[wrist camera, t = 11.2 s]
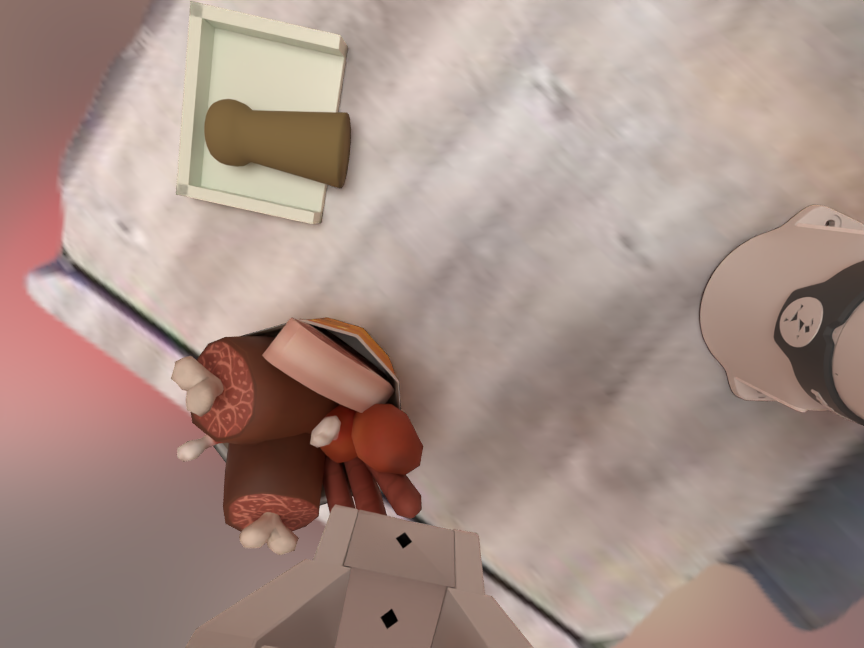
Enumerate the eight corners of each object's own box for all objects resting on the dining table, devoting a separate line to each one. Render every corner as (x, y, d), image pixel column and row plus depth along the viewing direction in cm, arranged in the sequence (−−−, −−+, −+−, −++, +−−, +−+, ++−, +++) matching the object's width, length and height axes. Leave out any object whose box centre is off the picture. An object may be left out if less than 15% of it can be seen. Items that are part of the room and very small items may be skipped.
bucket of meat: (210, 376, 49) (58, 491, 30) (304, 250, 46) (201, 287, 26) (366, 489, 52) (319, 660, 32) (466, 378, 48) (479, 496, 29)
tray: (348, 47, 41) (340, 35, 38) (321, 222, 45) (312, 224, 42) (208, 15, 41) (190, 1, 38) (193, 194, 45) (175, 194, 42)
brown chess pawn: (351, 102, 41) (219, 80, 40) (337, 128, 36) (188, 103, 36) (349, 170, 45) (229, 151, 44) (336, 201, 40) (202, 180, 40)
